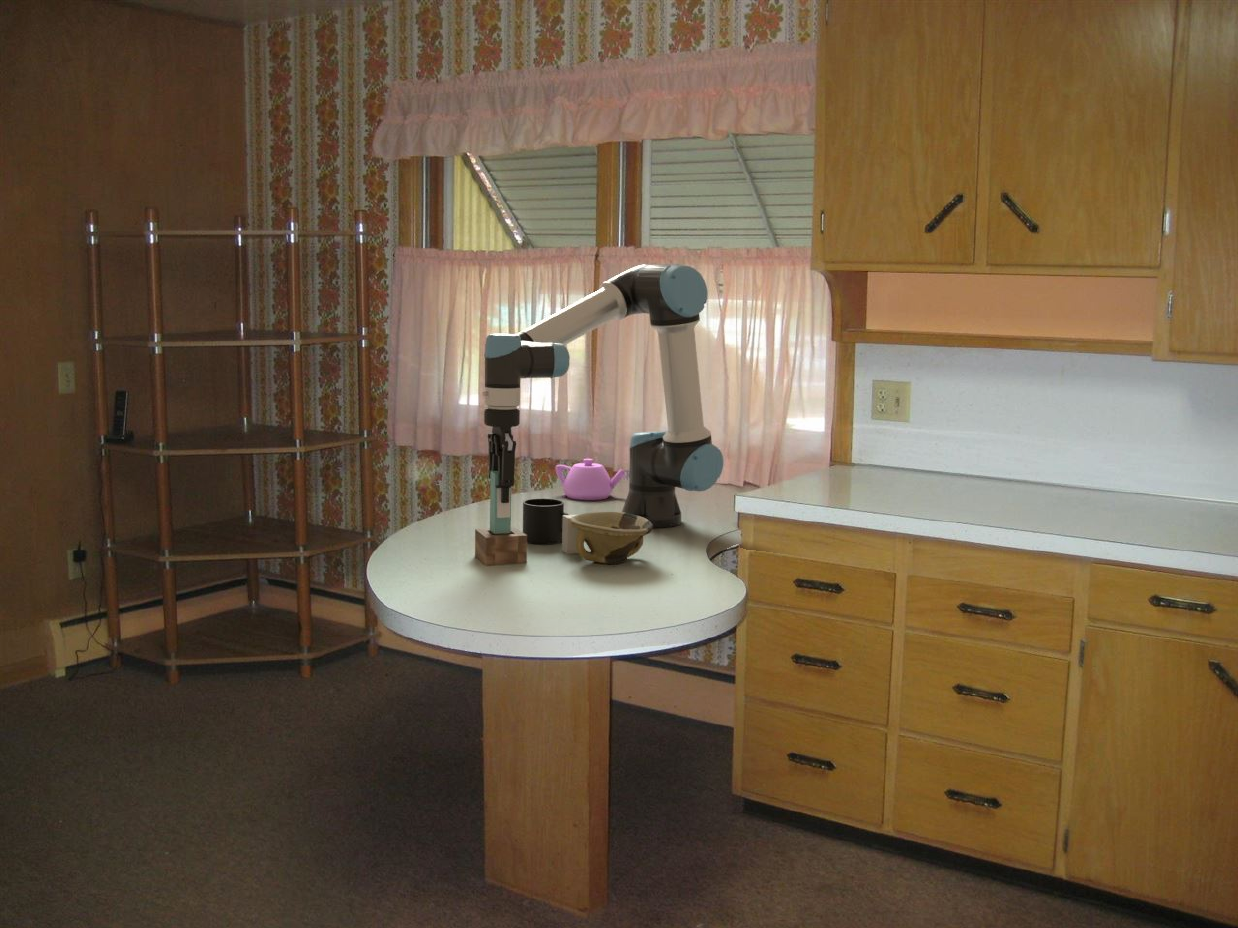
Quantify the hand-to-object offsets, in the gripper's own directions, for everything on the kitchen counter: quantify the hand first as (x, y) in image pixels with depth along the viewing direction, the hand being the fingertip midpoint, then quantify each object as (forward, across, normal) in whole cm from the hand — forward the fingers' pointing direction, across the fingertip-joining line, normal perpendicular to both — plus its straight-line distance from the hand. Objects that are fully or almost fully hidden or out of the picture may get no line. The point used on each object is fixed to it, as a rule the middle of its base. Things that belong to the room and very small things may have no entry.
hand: (500, 515), depth 259 cm
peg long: (+4, 0, 0) cm, 4 cm away
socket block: (+10, 0, 0) cm, 10 cm away
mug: (+10, -15, +16) cm, 24 cm away
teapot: (+10, -65, +45) cm, 80 cm away
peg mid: (+10, -3, +18) cm, 20 cm away
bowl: (+10, +8, +23) cm, 26 cm away
